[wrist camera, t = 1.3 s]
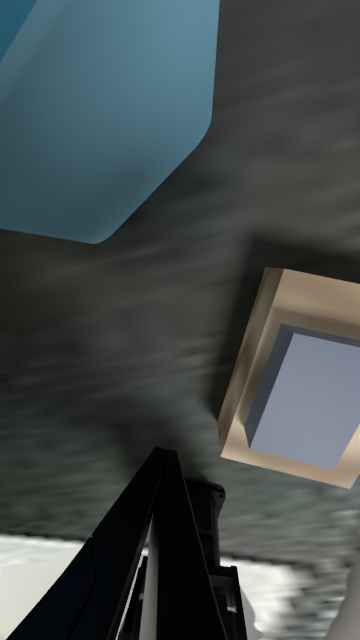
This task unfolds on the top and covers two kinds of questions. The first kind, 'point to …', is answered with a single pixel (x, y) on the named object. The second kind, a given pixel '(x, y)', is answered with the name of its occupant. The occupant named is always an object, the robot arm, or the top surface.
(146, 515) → the robot arm
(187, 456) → the top surface
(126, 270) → the top surface
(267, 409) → the block
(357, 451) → the beige shallow box
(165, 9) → the data package
